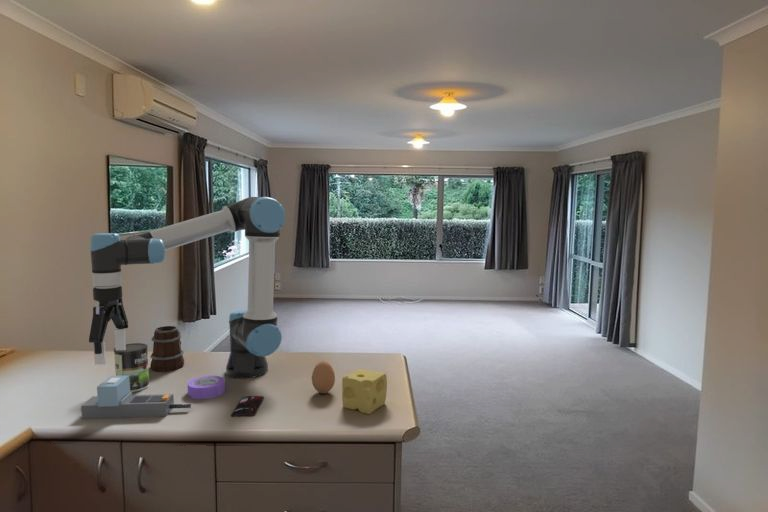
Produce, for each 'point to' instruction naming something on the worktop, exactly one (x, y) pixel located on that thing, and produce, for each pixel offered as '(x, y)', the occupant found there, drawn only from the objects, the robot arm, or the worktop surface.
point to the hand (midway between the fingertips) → (111, 356)
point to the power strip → (132, 407)
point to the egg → (323, 377)
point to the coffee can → (133, 365)
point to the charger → (113, 390)
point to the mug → (166, 349)
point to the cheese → (364, 390)
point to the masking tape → (206, 387)
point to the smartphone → (248, 406)
